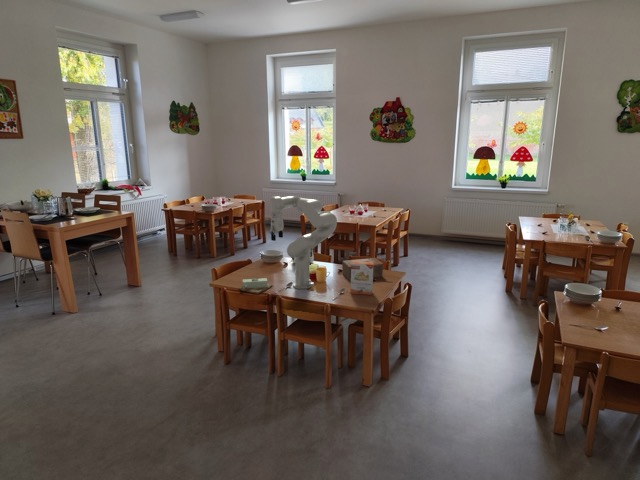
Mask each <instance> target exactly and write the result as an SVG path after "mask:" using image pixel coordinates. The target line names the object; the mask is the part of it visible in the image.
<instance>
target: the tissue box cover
mask: <svg viewBox="0 0 640 480" xmlns="http://www.w3.org/2000/svg"><path fill="white" fill-rule="evenodd" d="M352 261H361V262H374V264H373V278H381V277H380V276H382V277H383V275H384V273H383V271H384V269H383V268H384V263H383V262H381V261H380V260H379V259H377V258H375V257H371V258H361V259H360V258H359V259H350V260H348V259H347V260H346V259H345V260H342V263H341V264H342V265H341V266H342V268H341V269H342V270H341V271H342V274H343V276H344V277H345V278H346V279H347V280H350V281H351V263H352Z"/></svg>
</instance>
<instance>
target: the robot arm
mask: <svg viewBox="0 0 640 480" xmlns="http://www.w3.org/2000/svg"><path fill="white" fill-rule="evenodd" d="M289 208H296V209H297V210H298V211H299V212H302V213H303V215H304V216H305V217H306V219H307V220H308V221H309V222H310V224H311V225H312V226H313V228H315V229H314V230H313V231H312V232H311V233H307V234H304V235H301V236H299V237H297V238H296V239H294V240H295V241H294V240H293V241H292V242H291V243H289V244H288V246H287V248H286V254H287V255H288V257H290V258H291V259H292V258H296V260H295V263H294V266H295V267H294V269H295V273H294V274H295V277H294V278H295V282H294V283H292V286H293V287H294V289H298V290H306V289H307V290H308V289H310V288H311V287H314V286H315V281H314V282H313V281H312V280H311V279H310V264H309V263H310V252H311V248H313V249H314V248H315V247H317V246H318V245H320V244H321V243H322V242H324V241H325V240H326V239H327V238H329V237H330V236H331V235H332V234H334V232H335V231H336V229H337V226H338V225H337V224H338V219H337V217H336V215H335V214H334V213H332V212H324V213H321V214H319V213H320V212H321V211H322V209H323V203H322V201H321V200H318V199H312V198H304V197H303V198H302V197H301V196H294V195H289V196H288V195H287V196H283V197H281V196H279V195H274V196H271V197H270V228H269V233H270V238H271V241H274V242H276V240H277V237H276V234H277V233H278V238H281V239H283V237H284V227H285V224H284V218H283V210H285V209H289Z"/></svg>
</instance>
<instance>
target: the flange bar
mask: <svg viewBox="0 0 640 480" xmlns="http://www.w3.org/2000/svg"><path fill="white" fill-rule="evenodd" d="M253 280H257V281H253ZM245 284H247V288H261V287H267V284H268V278H267V277H264V278H263V277H262V278H248V279H245V278H244V279H242V286H243V289H245Z"/></svg>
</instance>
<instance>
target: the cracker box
mask: <svg viewBox="0 0 640 480" xmlns="http://www.w3.org/2000/svg"><path fill="white" fill-rule="evenodd" d="M373 264H374V262H361V261H352V263H351V280H350V291H349V293H350V294H352V295H353V294H354V295H363V296H364V295H366V296H372V295H373V285H374V283H373V282H374V277H373Z"/></svg>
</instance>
